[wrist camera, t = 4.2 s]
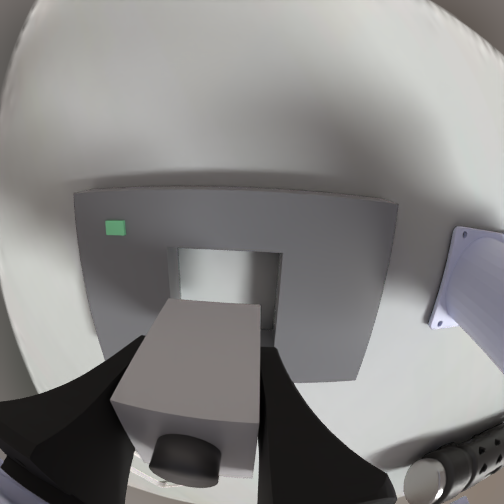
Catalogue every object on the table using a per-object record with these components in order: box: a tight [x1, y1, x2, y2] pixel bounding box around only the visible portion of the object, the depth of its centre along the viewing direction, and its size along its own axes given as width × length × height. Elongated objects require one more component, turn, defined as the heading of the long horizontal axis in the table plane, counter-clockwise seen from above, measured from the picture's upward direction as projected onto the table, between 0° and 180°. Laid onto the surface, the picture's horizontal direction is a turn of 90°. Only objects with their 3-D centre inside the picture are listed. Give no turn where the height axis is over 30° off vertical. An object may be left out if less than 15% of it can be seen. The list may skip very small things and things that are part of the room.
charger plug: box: [110, 298, 261, 488], centre depth 9 cm, size 4×4×7 cm
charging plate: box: [74, 186, 398, 383], centre depth 15 cm, size 18×12×2 cm, turn 88°
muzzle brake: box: [404, 423, 504, 504], centre depth 20 cm, size 10×28×10 cm, turn 80°
